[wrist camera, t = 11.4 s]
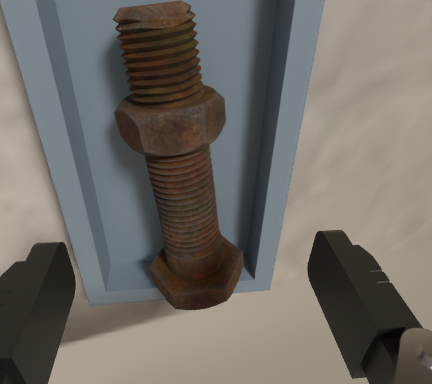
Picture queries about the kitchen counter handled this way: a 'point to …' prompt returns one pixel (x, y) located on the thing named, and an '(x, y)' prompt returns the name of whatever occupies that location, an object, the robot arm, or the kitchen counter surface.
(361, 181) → the kitchen counter surface
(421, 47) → the kitchen counter surface
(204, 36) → the parts tray
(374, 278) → the robot arm
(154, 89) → the bolt
